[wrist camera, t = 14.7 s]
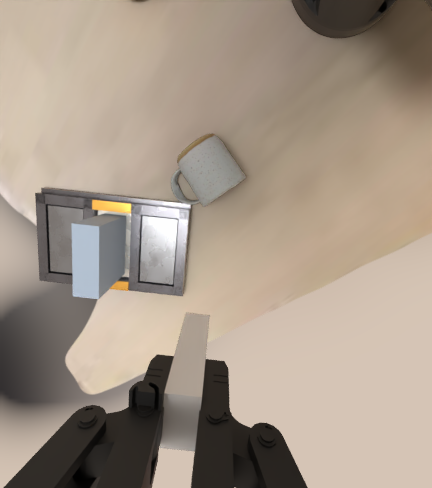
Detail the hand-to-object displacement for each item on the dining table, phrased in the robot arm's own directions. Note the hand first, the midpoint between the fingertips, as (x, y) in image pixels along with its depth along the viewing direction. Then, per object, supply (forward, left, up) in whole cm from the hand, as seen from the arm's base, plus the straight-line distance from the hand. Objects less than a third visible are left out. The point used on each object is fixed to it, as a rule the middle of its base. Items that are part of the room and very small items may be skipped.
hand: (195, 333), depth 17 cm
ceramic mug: (-9, -2, -30) cm, 31 cm away
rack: (+3, -16, -29) cm, 34 cm away
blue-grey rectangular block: (+3, -16, -28) cm, 33 cm away
